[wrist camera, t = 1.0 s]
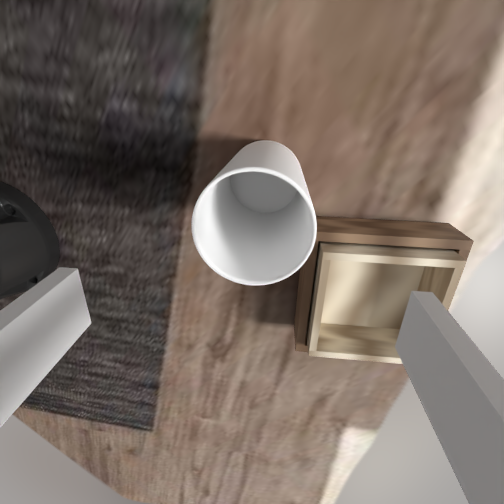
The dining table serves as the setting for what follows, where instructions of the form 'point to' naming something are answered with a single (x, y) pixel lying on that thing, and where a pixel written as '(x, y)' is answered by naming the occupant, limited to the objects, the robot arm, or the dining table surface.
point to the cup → (256, 216)
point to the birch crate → (372, 296)
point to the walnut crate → (370, 234)
